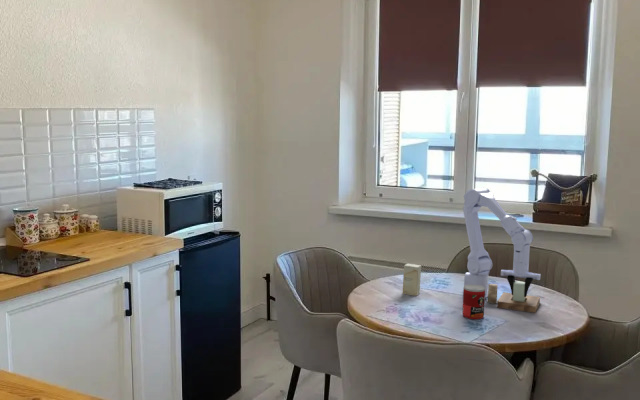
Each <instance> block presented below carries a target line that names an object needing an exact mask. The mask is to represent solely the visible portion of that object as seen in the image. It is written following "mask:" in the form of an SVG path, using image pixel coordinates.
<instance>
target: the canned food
mask: <svg viewBox="0 0 640 400" xmlns="http://www.w3.org/2000/svg"><path fill="white" fill-rule="evenodd" d="M462 293H463V295H462V315H463V317H464V318H466V319H469V320H481V319H483V318H484V316H485V300H486V298H485V287H483V286H480V285H474V284H469V285H465V286H464V285H463V291H462Z"/></svg>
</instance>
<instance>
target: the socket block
mask: <svg viewBox="0 0 640 400" xmlns="http://www.w3.org/2000/svg"><path fill="white" fill-rule="evenodd" d="M540 300H541V297H540V296H535V295H529V294H527V296H526V297H525V302H521V301H514V300H513V295H512V292H505V291H504V292H503V293H502V294H501V296H500V297H499V298H498V299H497V303H496V307H497V308H499V309H505V310H512V311H519V312H520V311H521V312H527V313H528V312H529V313H535V314H536V312H537V310H538V308H539V305H540V302H541V301H540Z"/></svg>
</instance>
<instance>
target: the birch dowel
mask: <svg viewBox="0 0 640 400" xmlns="http://www.w3.org/2000/svg"><path fill="white" fill-rule="evenodd" d="M498 287H499V286H498V284H496V283H488V296H487V304H488V303H489V304H497V301H498Z"/></svg>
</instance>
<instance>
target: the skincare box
mask: <svg viewBox="0 0 640 400" xmlns="http://www.w3.org/2000/svg"><path fill="white" fill-rule="evenodd" d="M421 271H422V265H421V264H415V263H405V264H404V265H403V277H402V278H403V279H402V281H403V282H402V294H403V295H409V296H413V297H417V296H418V295H419V294H420V293H421V292H420V291H421V275H422V272H421Z"/></svg>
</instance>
